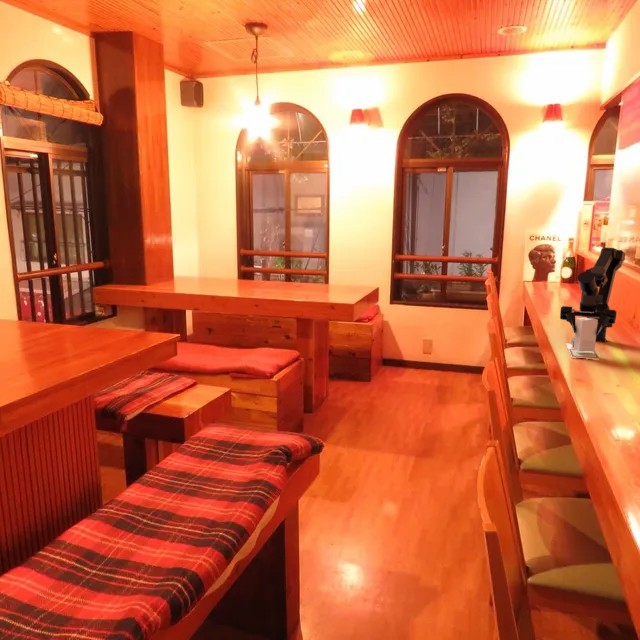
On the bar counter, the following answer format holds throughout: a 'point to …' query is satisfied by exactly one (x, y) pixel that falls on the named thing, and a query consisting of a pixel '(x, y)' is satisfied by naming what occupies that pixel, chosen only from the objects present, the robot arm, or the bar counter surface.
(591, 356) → the picture board
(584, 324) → the skincare box
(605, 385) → the bar counter surface
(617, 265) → the robot arm
